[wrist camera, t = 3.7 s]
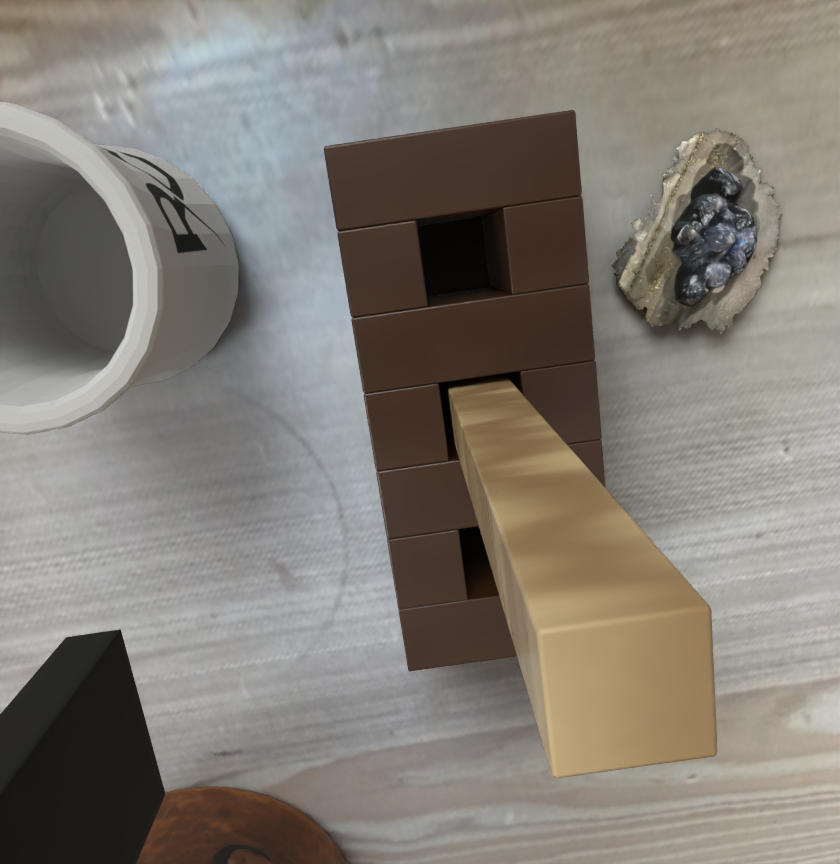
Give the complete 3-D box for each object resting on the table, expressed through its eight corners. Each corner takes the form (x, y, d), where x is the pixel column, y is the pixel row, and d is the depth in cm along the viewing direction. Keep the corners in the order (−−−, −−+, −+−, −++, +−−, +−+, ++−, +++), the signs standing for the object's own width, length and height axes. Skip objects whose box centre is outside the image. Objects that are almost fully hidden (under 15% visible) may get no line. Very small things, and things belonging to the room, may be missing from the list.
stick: (490, 356, 30) (713, 606, 9) (496, 407, 31) (720, 758, 9) (439, 364, 30) (536, 631, 9) (445, 414, 31) (552, 781, 9)
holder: (338, 168, 28) (322, 146, 22) (539, 139, 28) (575, 108, 22) (406, 597, 33) (408, 671, 27) (579, 573, 33) (618, 642, 27)
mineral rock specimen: (599, 322, 30) (612, 327, 28) (630, 118, 28) (646, 109, 26) (755, 336, 30) (778, 342, 28) (796, 136, 28) (823, 128, 26)
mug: (290, 262, 29) (234, 265, 19) (152, 423, 30) (36, 502, 21) (35, 33, 27) (-174, -95, 17) (-100, 219, 28) (-364, 200, 18)
